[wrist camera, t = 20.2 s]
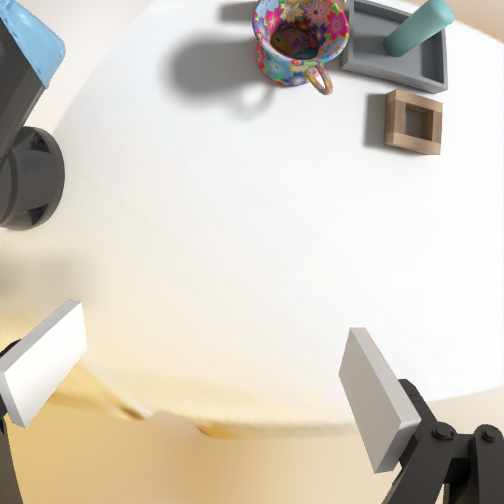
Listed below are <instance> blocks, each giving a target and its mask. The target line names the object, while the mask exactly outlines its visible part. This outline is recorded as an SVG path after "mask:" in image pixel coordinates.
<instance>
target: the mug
mask: <svg viewBox="0 0 504 504" xmlns="http://www.w3.org/2000/svg"><path fill="white" fill-rule="evenodd" d="M252 24H253V30H254V34H255V36H256V38H257V40H258V41H259V43H258V45H257V49H256V58H257V62H258V64H259V66H260V68H261V70H262V71H263V72H264V73H265V74H266V75H267V76H268V77H269V78H270V79H272V80H274V81H276V82H278V83H281V84H284V85H291V86H296V85H303V84H306V83H308V82H311V83H312V85H313V86H314V87H315V88H316V89H317V90H318V91H319V92H320V93H322V94H324V95H328V94H331V93H332V91H333V87H332V83H331V80H330V77H329V75H328V73H327V72H326V70H325V69H324V65H325V62H328V61H330V60H332V59H334V58H335V57H336V56H338V55H339V54H340V53H341V52H342V50H343V49H344V47H345V46H346V44H347V41H348V37H349V26H348V22H347V19H346V16H345V15H344V13H343V11H342V10H341V8H340V7H339V6H338V5H337V4H336V3H335V2H334V1H333V0H261V1H260V2H259V4H258V5H257V7H256V9H255V11H254V14H253V21H252ZM319 74H320V75H321V77H322V79H323V81H324V84H325V88H326V89H325V88H324V87H323V86H321V84H320V83H319V82H318V81H317V80H316V77H317V76H318V75H319Z"/></svg>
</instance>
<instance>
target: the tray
mask: <svg viewBox="0 0 504 504" xmlns="http://www.w3.org/2000/svg"><path fill="white" fill-rule="evenodd" d="M344 15H345V16H346V19H347V22H348V26H349V37H348V41H347V44H346V46H345V47H344V49H343V50H342V52H341V69H342V70H347V71H352V72H356V73H361V74H365V75H370V76H374V77H378V78H382V79H386V80H389V81H393V82H397V83H400V84H404V85H407V86H411V87H414V88H417V89H421V90H424V91H427V92H430V93H433V94H436V93H439V92H442V91H445V90H448V81H447V53H446V38H445V28H443V29H442V30H440V31H439V32H437V33H436V34H434V35H433V36H431V37H429V38H428V39H426V40H425V41H423V42H422V43H420V44H419V45H418V46H416V47H415V48H413V49H412V50H410V51H409V52H407V53H406V54H404V55H403V56H401V57H393V56H391V55H389V54H388V53H387V52H386V50H385V49H384V46H383V42H384V40H385V38H386V37H388V36H389V35H390V34H391V33H392V32H393V31H394V30H395V29H396V28H397V27H399V26H400V25H401V24H402V23H403V22H404V21H405V20H406V19H408V18H409V17H410V16H411V15H412V14H410V13H407V12H404V11H401V10H398V9H395V8H392V7H389V6H385V5H382V4H378V3H375V2H371V1H367V0H347V1H346V2H345V4H344Z"/></svg>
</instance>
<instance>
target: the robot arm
mask: <svg viewBox="0 0 504 504" xmlns="http://www.w3.org/2000/svg"><path fill="white" fill-rule="evenodd" d="M65 50H66V49H65V45H64V43H63V41H62V40H61V39H60V38H59V37H58V36H57V35H56V34H55V33H54V32H53V31H52V30H51V29H49V28H48V27H47V26H46V25H45V24H44V23H43V22H41V21H40V20H39V19H38V18H37V17H35V16H34V15H33V14H32V13H31V12H29V11H28V10H27V9H25V8H24V7H23V6H21V5H20V4H19V3H18V2H16V1H15V0H0V227H4V228H9V229H15V230H27V229H31V228H33V227H36V226H39V225H41V224H43V223H44V222H45V221H47V220H48V219H49V218H50V217H51V216H52V214H53V213H54V211H55V210H56V208H57V206H58V204H59V202H60V199H61V196H62V192H63V187H64V179H65V170H64V162H63V157H62V153H61V151H60V148H59V146H58V144H57V142H56V141H55V139H54V138H53V137H52V136H51V135H50V134H49V133H48V132H46V131H45V130H43V129H40V128H36V127H26V126H25V127H23V125H24V124H25V122H26V120H27V118H28V117H29V115H30V113H31V111H32V110H33V108H34V106H35V105H36V103H37V102H38V100H39V98H40V97H41V95H42V94H43V92H44V90H45V89H47V88H48V87H49V82H50V80H51V78H52V76H53V75H54V73H55V72H56V70H57V69H58V67H59V66H60V64H61V62H62V61H63V59H64V57H65ZM87 349H88V345H87V339H86V332H85V325H84V318H83V310H82V302H81V301H75V300H68V301H67V302H66V303H64V304H63V305H62V306H61V307H59V308H58V309H57V310H56V311H55V312H53V313H52V314H51V315H50V316H48V317H47V318H46V319H45V320H44V321H43V322H41V323H40V324H39V325H38V326H37V327H35V328H34V329H33V330H32V331H31V332H30V333H28V334H27V335H26V336H25V337H24V338H23V339H19V340H17V341H15V342H13V343H11V344H10V345H8V346H7V347H6V348H5V350H3V351H2V352H0V504H23V501H22V498H21V494H20V491H19V487H18V483H17V479H16V475H15V471H14V466H13V461H12V456H11V451H10V446H9V440H8V434H7V427H6V422H5V420H4V418H3V417H4V415H5V414H6V413H7V412H8V414H9V416H10V419H11V421H12V422H13V423H15V424H17V425H19V426H21V427H24V428H27V426H28V425H29V424H30V422H31V421H32V420H33V418H34V417H35V416H36V414H37V413H38V411H39V410H40V409H41V408H42V406H43V405H44V404H45V402H46V401H47V400H48V398H49V397H50V396H51V395H52V393H53V392H54V391H55V389H56V388H57V387H58V386H59V384H60V383H61V382H62V380H63V379H64V378H65V377H66V375H67V374H68V373H69V372H70V370H71V369H72V368H73V367H74V365H75V364H76V363H77V362H78V360H79V359H80V358H81V357H82V355H83V354H84V353H85V352H86V351H87ZM339 377H340V379H341V382H342V385H343V387H344V390H345V393H346V395H347V398H348V401H349V403H350V406H351V409H352V412H353V414H354V417H355V420H356V422H357V425H358V428H359V431H360V433H361V436H362V438H363V442H364V445H365V447H366V450H367V453H368V456H369V459H370V462H371V464H372V467H373V470H374V473H381V472H387V471H393V469H394V468H395V466H396V465H397V463H398V462H400V464H401V467H402V470H401V471H400V473H399V474H398V476H397V477H396V479H395V480H394V482H393V483H392V487H391V489H390V491H389V492H388V494H387V496H386V497H385V499H384V501H383V502H382V504H435V502H436V500H437V497H438V495H439V492H440V490H441V487H442V484H444V495H443V504H504V438H503V435H502V433H501V432H500V430H498V428H496V427H494V426H492V425H488V424H484V425H483V424H482V425H480V426H478V427H477V429H476V430H475V431H474V433H473V434H457V432H456V431H455V429H454V428H453V427H452V426H451V425H448V424H447V423H443V422H438V421H437V420H436V418H435V416H434V415H433V414H432V412H431V410H430V409H429V407H428V406H427V404H426V402H425V401H424V399H423V398H422V396H421V395H420V393H419V392H418V390H417V389H416V387H415V386H414V385H413V384H412V383H410V382H409V381H408V380H407V379H397V378H396V376H395V375H394V373H393V371H392V370H391V368H390V366H389V365H388V363H387V362H386V360H385V358H384V357H383V355H382V354H381V352H380V351H379V349H378V347H377V346H376V344H375V343H374V341H373V340H372V338H371V336H370V335H369V333H368V332H367V330H366V329H365V328H350V331H349V335H348V339H347V343H346V348H345V352H344V356H343V359H342V363H341V367H340V371H339Z"/></svg>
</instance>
